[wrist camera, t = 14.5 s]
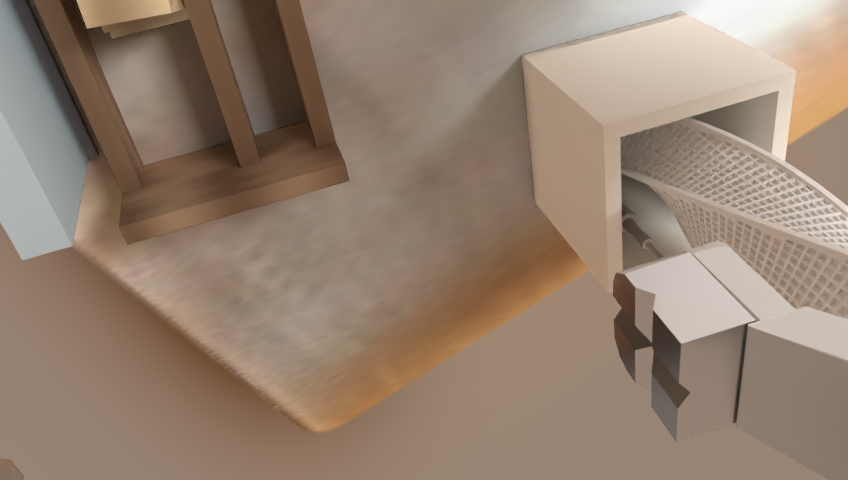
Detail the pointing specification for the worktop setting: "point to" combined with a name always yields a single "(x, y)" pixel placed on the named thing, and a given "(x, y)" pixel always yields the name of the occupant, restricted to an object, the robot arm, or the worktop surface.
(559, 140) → the open white box
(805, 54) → the worktop surface
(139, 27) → the offcut long
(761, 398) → the robot arm
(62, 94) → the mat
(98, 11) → the offcut short
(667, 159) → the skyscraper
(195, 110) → the worktop surface
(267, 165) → the rack
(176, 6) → the offcut mid
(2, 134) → the pale blue-grey board
